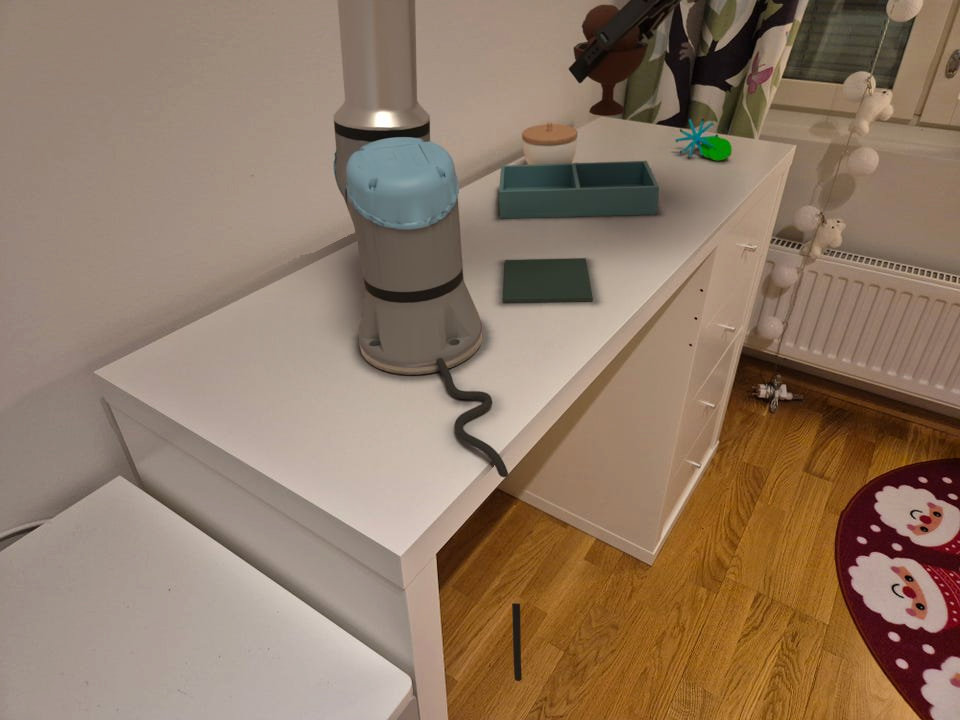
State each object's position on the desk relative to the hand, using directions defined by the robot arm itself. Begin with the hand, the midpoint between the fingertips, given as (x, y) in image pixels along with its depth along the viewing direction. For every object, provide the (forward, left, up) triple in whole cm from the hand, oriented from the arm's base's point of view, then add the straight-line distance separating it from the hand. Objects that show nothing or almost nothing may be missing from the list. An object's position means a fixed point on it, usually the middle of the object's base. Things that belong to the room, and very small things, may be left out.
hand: (592, 68), depth 101 cm
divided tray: (+4, +2, -23) cm, 23 cm away
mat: (-26, +8, -23) cm, 36 cm away
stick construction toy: (+28, -26, -23) cm, 45 cm away
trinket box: (+21, +6, -23) cm, 31 cm away
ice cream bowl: (-1, -2, -6) cm, 7 cm away
